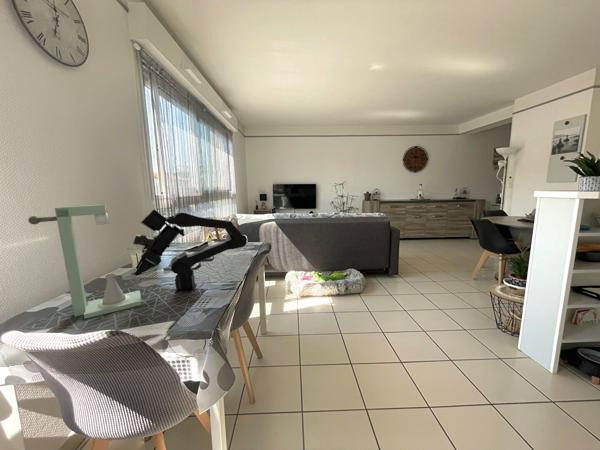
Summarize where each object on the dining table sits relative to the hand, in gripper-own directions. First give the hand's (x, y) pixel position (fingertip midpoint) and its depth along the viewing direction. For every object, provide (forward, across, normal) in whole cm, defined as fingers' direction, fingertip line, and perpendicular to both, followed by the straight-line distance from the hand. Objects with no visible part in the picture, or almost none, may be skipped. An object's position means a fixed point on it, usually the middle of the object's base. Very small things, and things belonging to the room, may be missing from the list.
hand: (136, 271), depth 96 cm
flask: (+12, +1, +1) cm, 12 cm away
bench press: (+16, +1, -2) cm, 17 cm away
